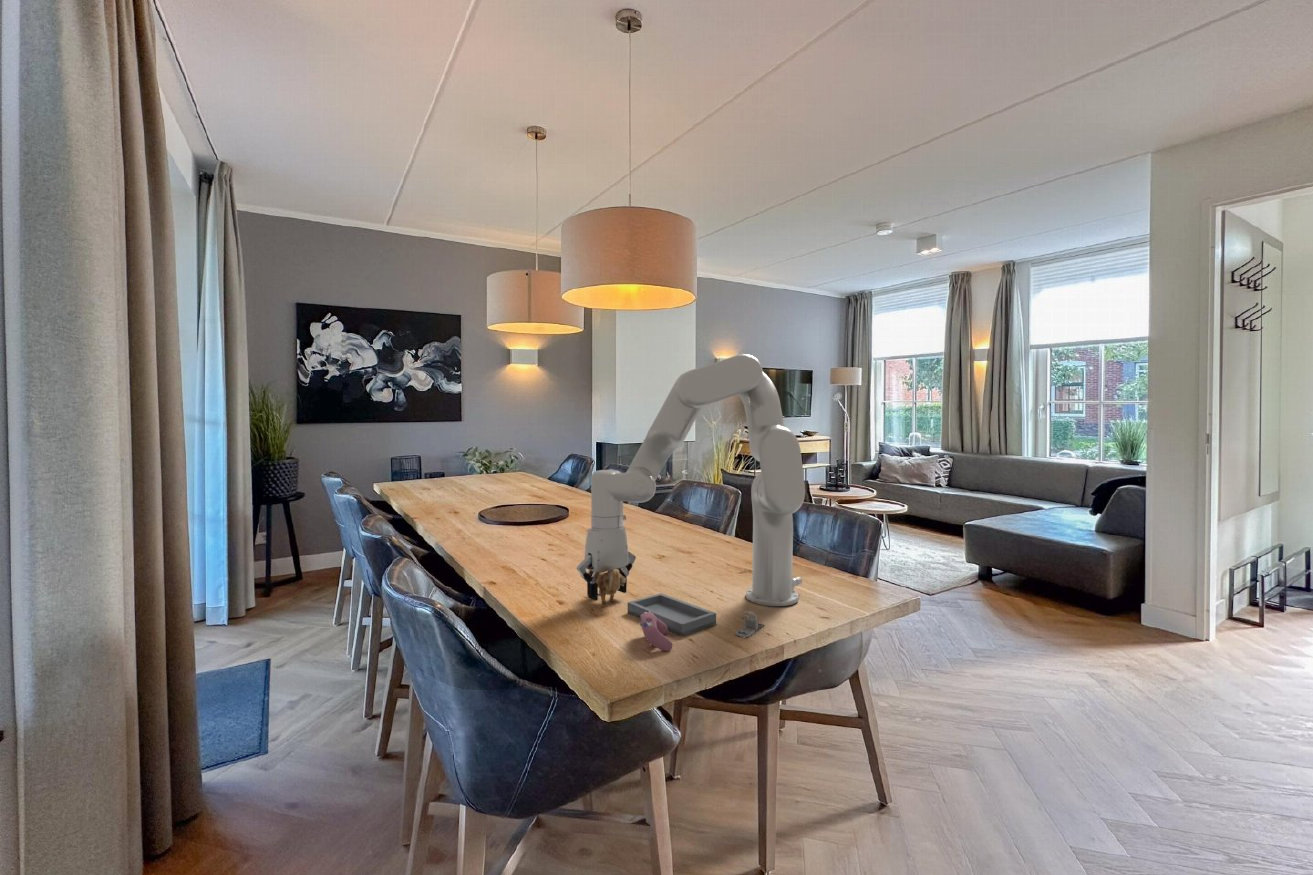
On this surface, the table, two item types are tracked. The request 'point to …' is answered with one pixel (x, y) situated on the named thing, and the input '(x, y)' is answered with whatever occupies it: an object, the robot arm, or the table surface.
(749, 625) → the strap clip
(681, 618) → the slate tray
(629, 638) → the table surface
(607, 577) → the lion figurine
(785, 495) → the robot arm
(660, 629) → the pink curved piece
